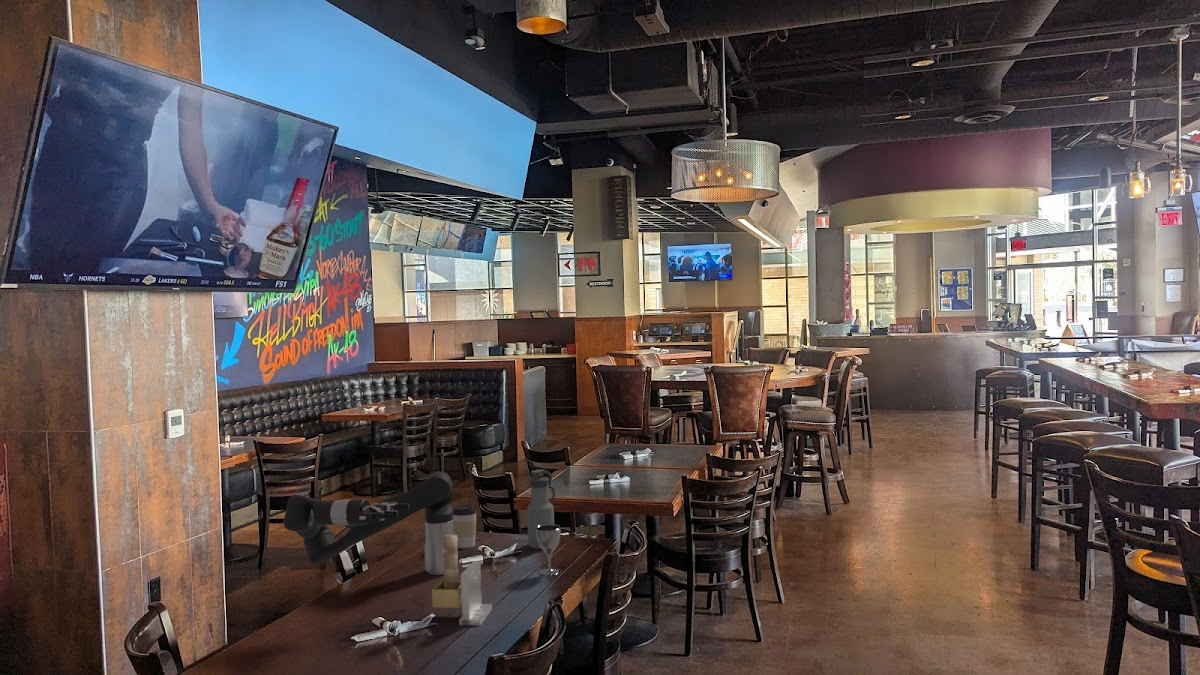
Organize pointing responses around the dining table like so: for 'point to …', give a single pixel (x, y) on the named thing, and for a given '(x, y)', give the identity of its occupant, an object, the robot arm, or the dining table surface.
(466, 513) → the coffee cup
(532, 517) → the water bottle
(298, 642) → the dining table surface
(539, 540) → the wine glass
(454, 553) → the rail post
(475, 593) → the cup bracket
